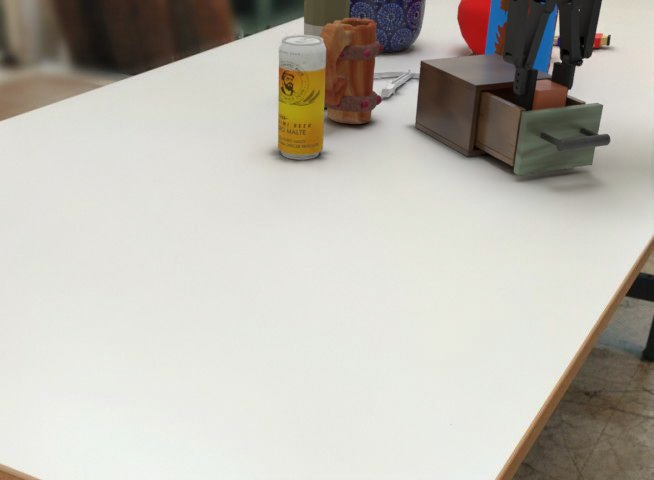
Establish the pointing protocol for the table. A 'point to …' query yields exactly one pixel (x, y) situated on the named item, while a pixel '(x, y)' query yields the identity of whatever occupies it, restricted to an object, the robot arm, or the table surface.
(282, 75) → the beer can
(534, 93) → the robot arm
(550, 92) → the block
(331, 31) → the mug
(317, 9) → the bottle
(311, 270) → the table surface
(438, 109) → the cabinet
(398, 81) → the crossbow
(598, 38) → the toy figure
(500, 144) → the drawer
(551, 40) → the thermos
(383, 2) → the planter
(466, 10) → the vase
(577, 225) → the table surface
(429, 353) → the table surface
